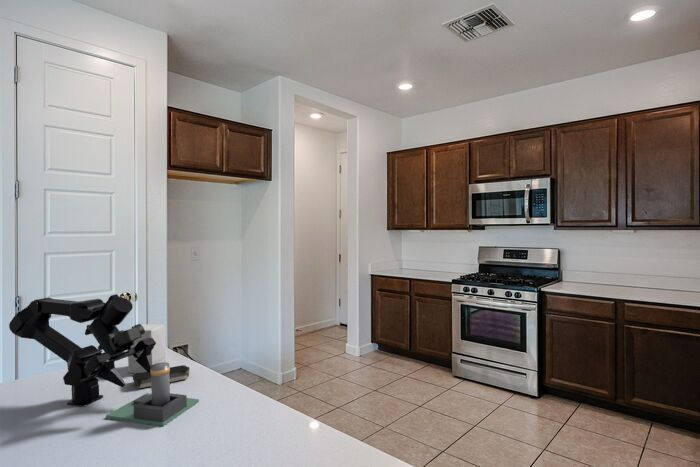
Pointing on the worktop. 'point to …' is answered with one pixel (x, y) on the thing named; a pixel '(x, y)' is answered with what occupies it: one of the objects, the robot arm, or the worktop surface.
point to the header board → (152, 410)
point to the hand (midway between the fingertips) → (139, 379)
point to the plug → (160, 384)
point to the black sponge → (174, 375)
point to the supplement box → (156, 353)
